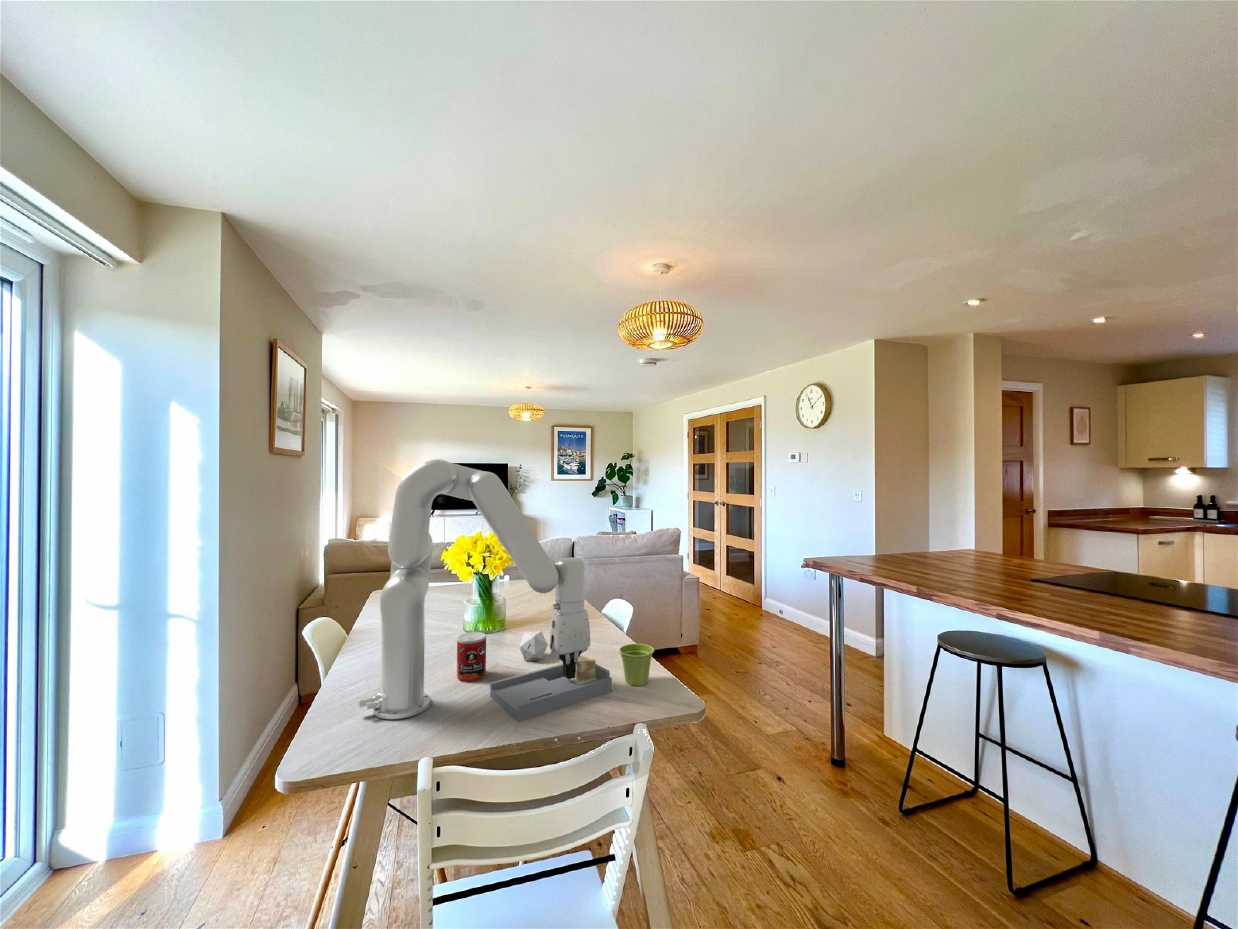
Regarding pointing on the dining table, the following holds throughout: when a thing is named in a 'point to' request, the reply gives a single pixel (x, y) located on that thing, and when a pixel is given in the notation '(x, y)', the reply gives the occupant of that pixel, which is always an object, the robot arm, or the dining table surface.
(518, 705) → the box
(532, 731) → the dining table surface
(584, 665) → the block
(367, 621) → the dining table surface
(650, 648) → the plant pot
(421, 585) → the robot arm
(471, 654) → the canned food
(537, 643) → the die
